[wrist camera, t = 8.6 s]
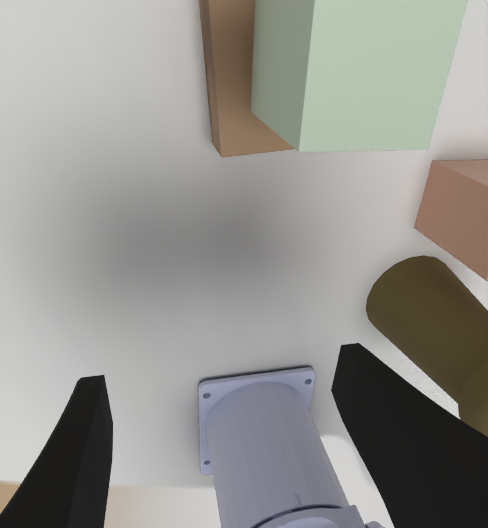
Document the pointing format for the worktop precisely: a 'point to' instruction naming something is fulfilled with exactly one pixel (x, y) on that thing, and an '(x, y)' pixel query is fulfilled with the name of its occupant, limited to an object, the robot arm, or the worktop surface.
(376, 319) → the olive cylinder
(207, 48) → the walnut board
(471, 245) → the terracotta block
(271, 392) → the robot arm
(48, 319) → the worktop surface
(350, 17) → the sage block
